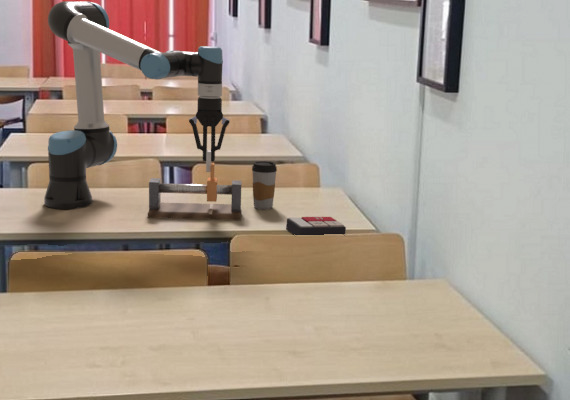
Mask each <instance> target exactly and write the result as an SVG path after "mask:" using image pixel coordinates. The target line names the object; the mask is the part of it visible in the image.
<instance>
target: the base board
mask: <svg viewBox="0 0 570 400" xmlns="http://www.w3.org/2000/svg"><path fill="white" fill-rule="evenodd" d="M241 215H242V211H241V212H231V203H228V204H227V203H225V204H224V203H199V202H198V203H197V202H196V203H192V202H191V203H189V202H160V208H159V210H149V209H148V211H147V218H148V219H179V220H180V219H181V220H182V219H183V220H184V219H187V220H219V221H221V220H222V221H223V220H224V221H225V220H226V221H227V220H229V221H241V220H242V219H241Z"/></svg>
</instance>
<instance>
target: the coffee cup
mask: <svg viewBox="0 0 570 400" xmlns="http://www.w3.org/2000/svg"><path fill="white" fill-rule="evenodd" d="M277 168H278V167H277V164H276V163H275V162H273V161H267V160H266V161H258V160H257V161H255V162H253V164H252V166H251V171H252V172H251V173H252V197H253V206H254V208H255V209H257V210H270V209H272V207H274V197H275V189H276V177H277V171H278V169H277Z"/></svg>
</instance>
